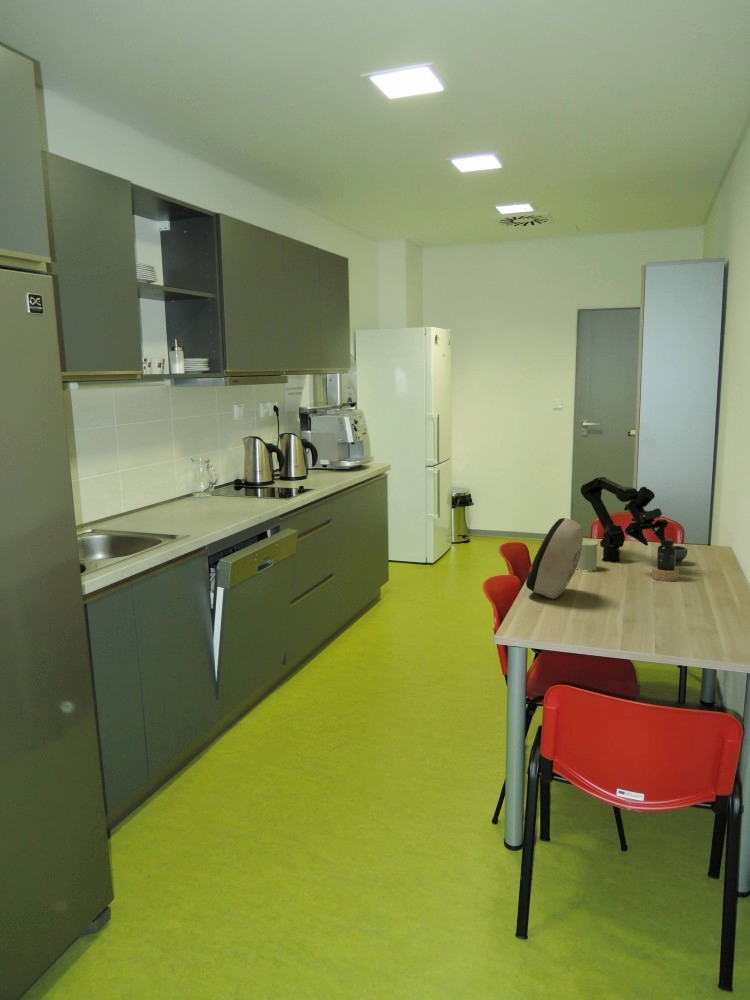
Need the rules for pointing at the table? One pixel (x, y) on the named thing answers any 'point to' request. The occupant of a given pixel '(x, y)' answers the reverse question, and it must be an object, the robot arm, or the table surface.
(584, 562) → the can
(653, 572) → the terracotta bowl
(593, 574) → the table surface
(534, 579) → the grey rounded piece
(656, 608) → the table surface
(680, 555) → the mortar and pestle
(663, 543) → the supplement bottle
